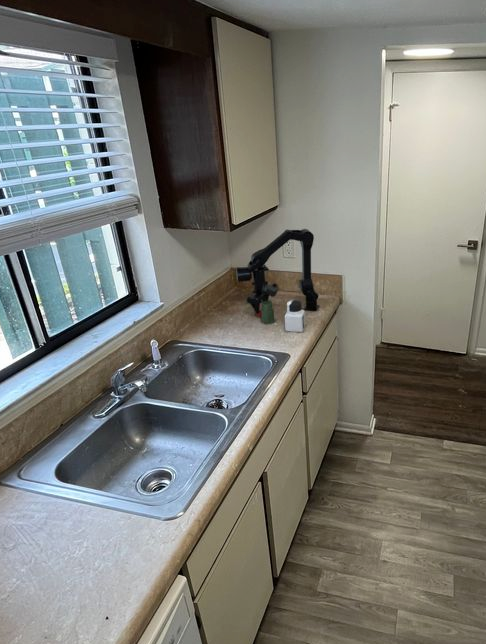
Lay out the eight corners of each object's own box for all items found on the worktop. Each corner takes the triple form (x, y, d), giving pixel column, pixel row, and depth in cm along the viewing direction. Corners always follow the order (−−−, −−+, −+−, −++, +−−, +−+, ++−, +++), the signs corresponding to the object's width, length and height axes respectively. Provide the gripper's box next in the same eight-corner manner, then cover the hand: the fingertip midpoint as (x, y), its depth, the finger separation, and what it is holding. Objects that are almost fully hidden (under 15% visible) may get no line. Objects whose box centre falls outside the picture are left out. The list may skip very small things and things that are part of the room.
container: (305, 325, 201) (304, 298, 196) (302, 332, 194) (301, 305, 189) (288, 324, 202) (287, 298, 197) (285, 331, 195) (283, 304, 190)
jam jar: (265, 318, 208) (263, 299, 204) (276, 319, 207) (275, 301, 203) (260, 323, 203) (258, 304, 199) (271, 324, 202) (270, 305, 198)
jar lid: (266, 317, 209) (265, 311, 208) (253, 316, 210) (252, 310, 209) (271, 312, 215) (270, 306, 214) (259, 311, 216) (258, 305, 215)
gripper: (267, 287, 195) (270, 319, 202) (282, 274, 212) (284, 304, 218) (244, 285, 198) (247, 317, 204) (261, 273, 214) (263, 302, 221)
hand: (261, 310), depth 212 cm, fingers open, 9 cm apart
